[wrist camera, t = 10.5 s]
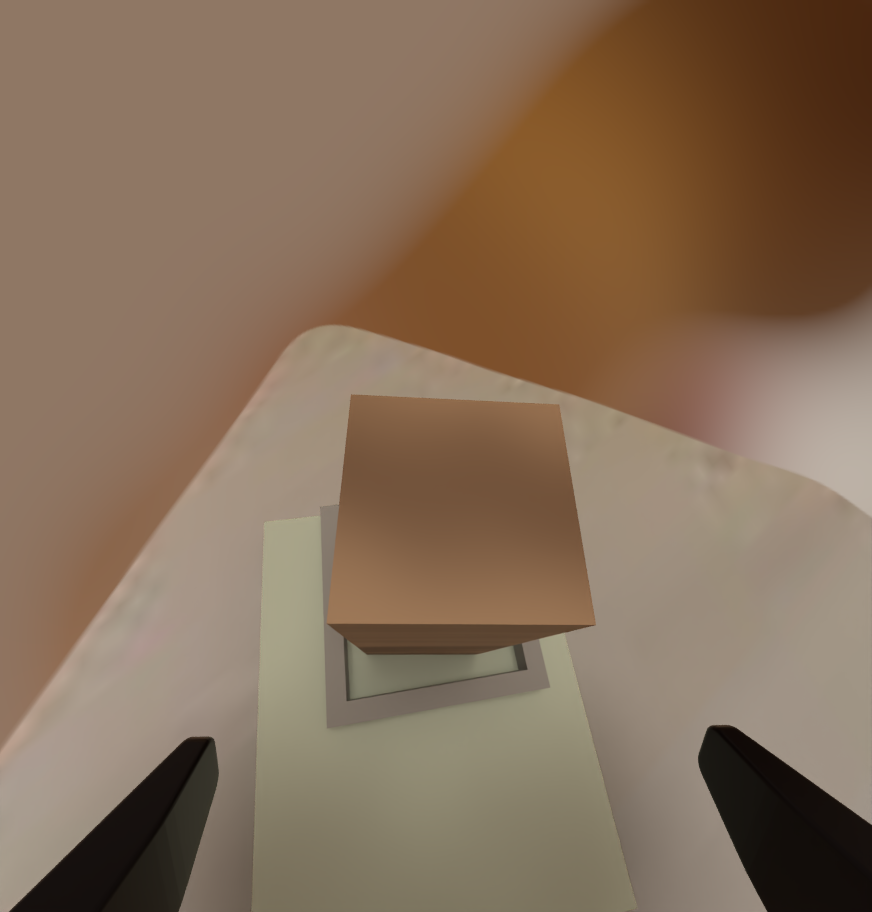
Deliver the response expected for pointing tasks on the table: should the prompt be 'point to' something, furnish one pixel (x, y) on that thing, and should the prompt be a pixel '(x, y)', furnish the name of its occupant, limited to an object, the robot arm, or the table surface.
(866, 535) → the table surface
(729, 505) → the table surface
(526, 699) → the footing plate
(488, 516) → the walnut pillar
